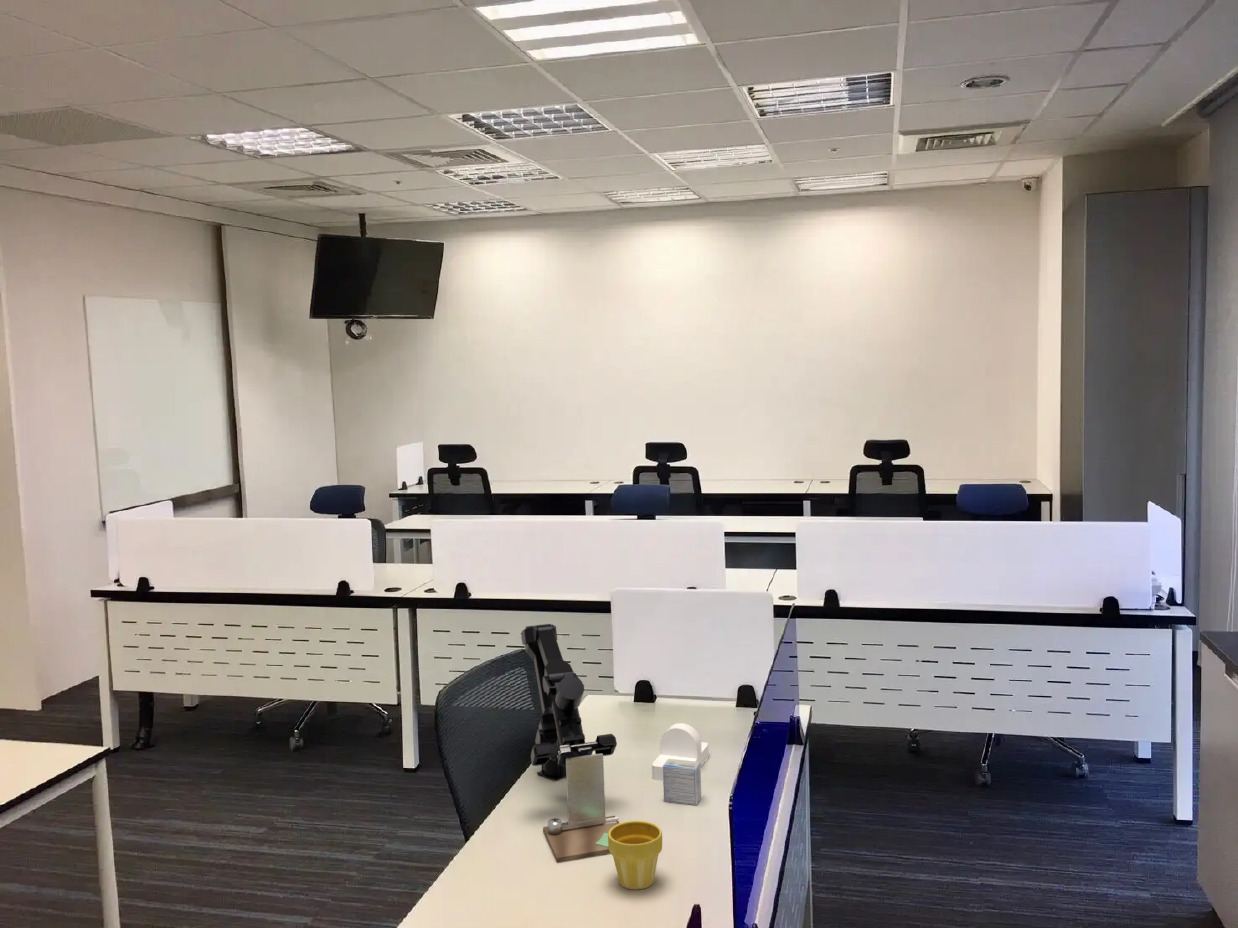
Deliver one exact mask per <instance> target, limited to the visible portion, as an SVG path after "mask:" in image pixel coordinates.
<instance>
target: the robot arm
mask: <svg viewBox="0 0 1238 928" xmlns="http://www.w3.org/2000/svg"><path fill="white" fill-rule="evenodd" d="M520 634H521V635H520V636H521V643H522V645H523V646H524V649H525V652H526V655H528V656H529V658H530V659H531V660H532V661H533V662H534V671H535V676H536V681H537V687H538V694H539V701H540V706H541V712H542V717H541V718H540V722H539V723H538V729H537V731H536V736H535V739H534V742H535V743H534V745H533V746H532V749H531V752H530V762H531V766H534V767H536V766H541V770H539V771H537V772H536V773H537V775H538V776H541V777H544V778H547V779H548V780H549V779H550V780H553V781H558V780H560V779H562V778H564V777H566V758H573V757H580V756H587V755H593V752H595V754H601V753H602V754H603V757H607V756H612V755H614V752H615V750H616V748H617V745H618V743H617V738H616V736H615V735H614V734H613V733H607V734H599V735H597V736H596V739H595V741H589V742H586V737H585V736H586V735H585V734H584V730H583V727H582V726H583V725H582V717H580V716H581V715H580V711H579V707H580V704H581V702H582V698H583V695H584V691H585V685H584V683H583V681H582V679H580V678H579V676H578V675H577V673H576V672H574V670H573V668H572V666H571V664H570V663H569V662H566V660H564V657H563V655H562V652H561V649H560V647H559V643H558V633H557V626H556V625H554V624H552V623H547V624H546V623H544V624H537V625H527V626H525V628H524V629H523V630H522V631H521V633H520Z"/></svg>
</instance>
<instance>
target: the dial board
mask: <svg viewBox="0 0 1238 928" xmlns="http://www.w3.org/2000/svg"><path fill="white" fill-rule="evenodd" d="M614 817H616V815H610V816H605V818H606V819H608V818H614ZM619 823H620V822H619V820H615V821H609V822H606V823H604V824H598V825H591V826H585V827H579V828H573V829H567V830H562V832H560V833H558V834H551V833H549V832H548V825H546V826H543V827H542V832H543V834H544V837H545V839H546V841H547V844H548V845H549V847H550V849H551V853H552V854H553V856H554V859H555V861H556V863H558V864H559V863H564V862H569V861H570V862H571V861H575V860H580V859H581V860H582V859H587V858H593V857H598V856H604V855H609V854H610V855H611V853H610V852H609V847H608V832H609V830H610V829H611V828H612V827H613V826H615V825H617V824H619Z"/></svg>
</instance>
